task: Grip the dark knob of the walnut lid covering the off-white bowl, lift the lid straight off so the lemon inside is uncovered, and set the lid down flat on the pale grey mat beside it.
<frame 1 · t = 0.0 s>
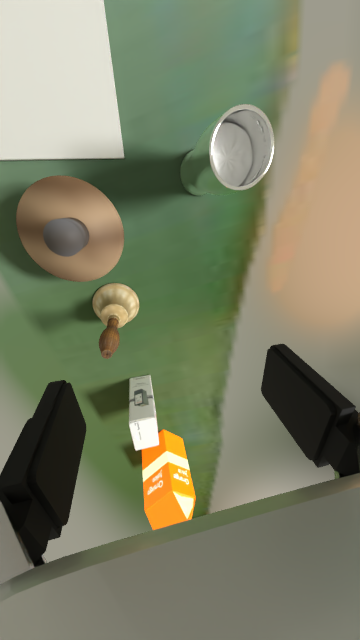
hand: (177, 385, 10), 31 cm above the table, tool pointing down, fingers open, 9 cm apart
mat: (42, 65, 26), on the table
hand bell: (116, 303, 41), on the table
beer glass: (198, 173, 34), on the table
orange juice: (162, 442, 61), on the table
lid: (74, 233, 30), point 5 cm above the table, touching bowl
ink box: (142, 389, 51), on the table
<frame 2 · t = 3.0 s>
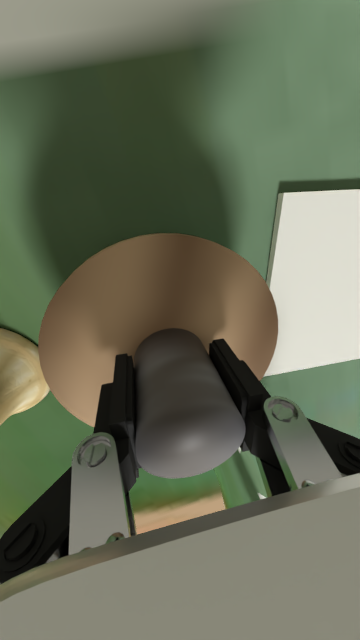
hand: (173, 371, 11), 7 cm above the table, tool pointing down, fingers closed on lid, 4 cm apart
mat: (353, 289, 20), on the table
beer glass: (228, 443, 27), on the table
lid: (167, 349, 13), point 5 cm above the table, touching bowl, gripper
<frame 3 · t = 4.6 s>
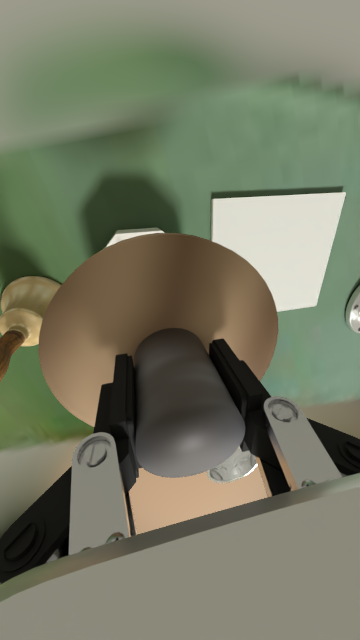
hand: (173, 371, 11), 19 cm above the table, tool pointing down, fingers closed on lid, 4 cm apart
mat: (271, 260, 31), on the table
hand bell: (41, 307, 27), on the table
beer glass: (197, 376, 38), on the table
lid: (167, 349, 13), point 17 cm above the table, touching gripper
bowl: (143, 273, 28), on the table, touching lemon
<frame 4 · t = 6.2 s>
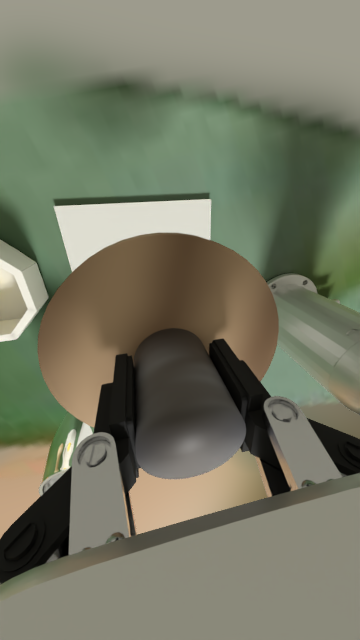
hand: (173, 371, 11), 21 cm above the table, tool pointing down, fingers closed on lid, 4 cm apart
mat: (144, 269, 29), on the table
beer glass: (92, 387, 37), on the table
lid: (167, 349, 13), point 19 cm above the table, touching gripper
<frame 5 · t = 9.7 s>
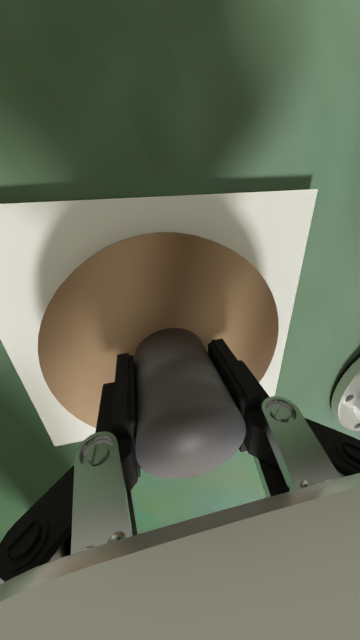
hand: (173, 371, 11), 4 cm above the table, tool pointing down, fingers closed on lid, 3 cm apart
mat: (163, 334, 15), on the table
lid: (167, 349, 13), point 2 cm above the table, touching gripper
when the fingers open (4 cm above the table, at t = 9.9 s): lid drops 1 cm, resting on mat.
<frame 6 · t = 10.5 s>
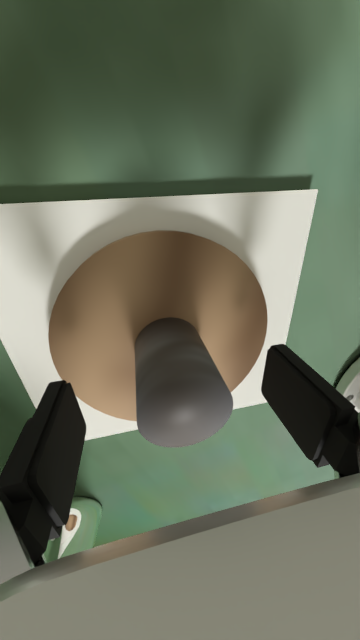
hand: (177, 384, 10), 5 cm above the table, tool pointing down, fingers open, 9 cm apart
mat: (163, 334, 15), on the table
beer glass: (70, 511, 22), on the table
lid: (165, 338, 14), point 1 cm above the table, touching mat
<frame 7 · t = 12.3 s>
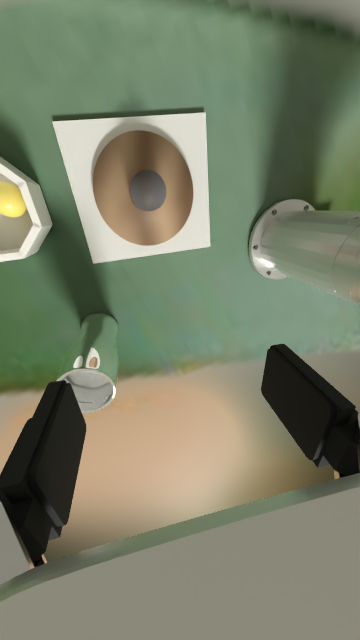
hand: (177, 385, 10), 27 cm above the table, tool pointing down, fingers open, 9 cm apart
mat: (144, 194, 30), on the table
lemon: (9, 207, 27), point 1 cm above the table, tilted 38°, touching bowl
beer glass: (100, 328, 38), on the table
lid: (145, 194, 29), point 1 cm above the table, touching mat
bowl: (3, 210, 28), on the table, touching lemon
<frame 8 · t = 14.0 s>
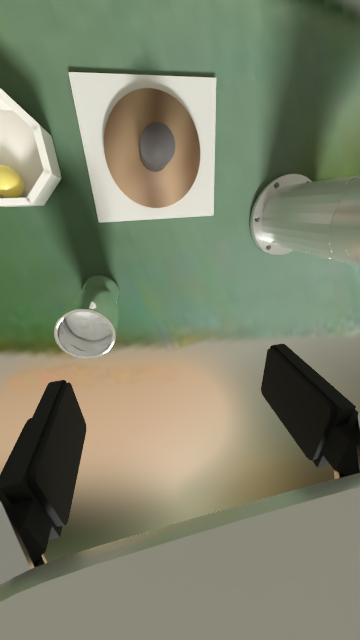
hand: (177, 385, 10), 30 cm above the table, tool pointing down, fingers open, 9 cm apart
mat: (152, 156, 31), on the table
lemon: (8, 166, 26), point 3 cm above the table, tilted 100°, touching bowl
beer glass: (101, 291, 38), on the table
lid: (153, 155, 30), point 1 cm above the table, touching mat
bowl: (13, 159, 28), on the table, touching lemon
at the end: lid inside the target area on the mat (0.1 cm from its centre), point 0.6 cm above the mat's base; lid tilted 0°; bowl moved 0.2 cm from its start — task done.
